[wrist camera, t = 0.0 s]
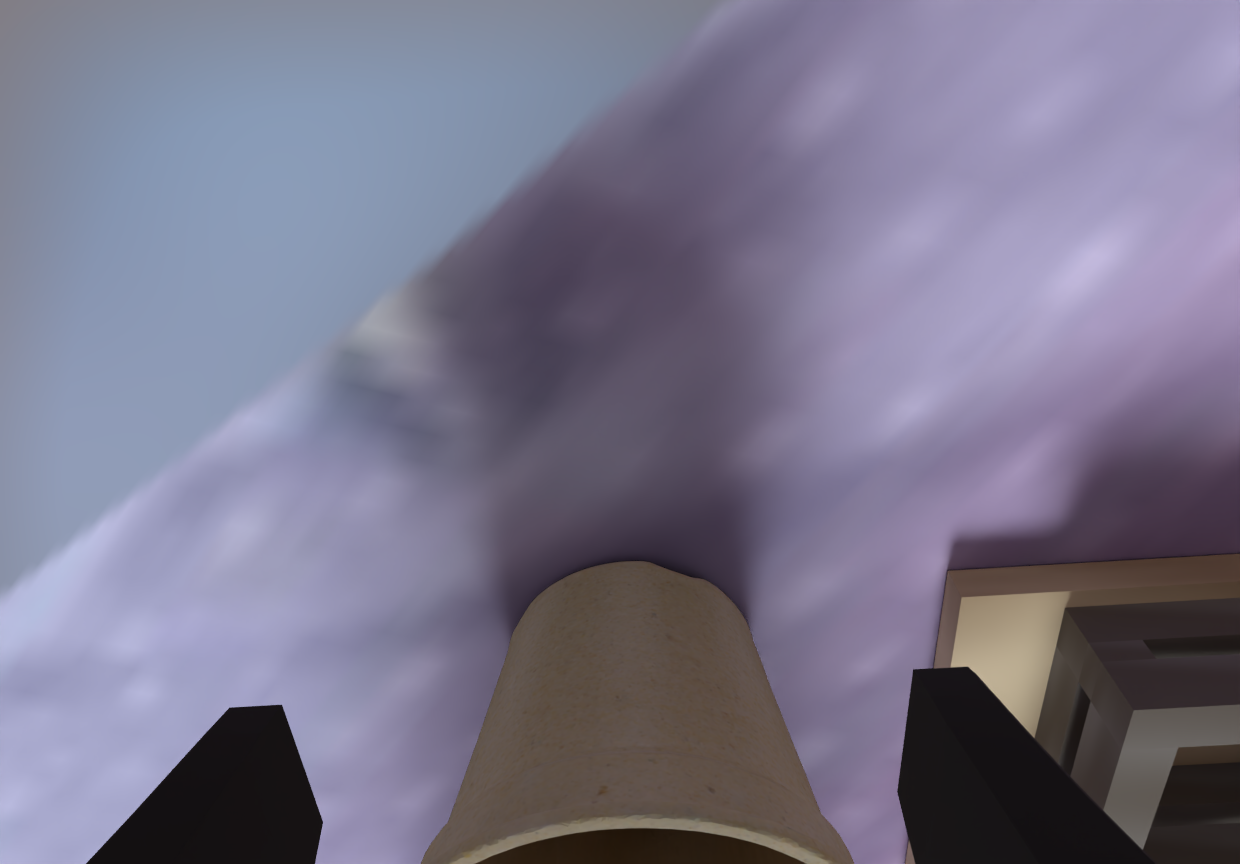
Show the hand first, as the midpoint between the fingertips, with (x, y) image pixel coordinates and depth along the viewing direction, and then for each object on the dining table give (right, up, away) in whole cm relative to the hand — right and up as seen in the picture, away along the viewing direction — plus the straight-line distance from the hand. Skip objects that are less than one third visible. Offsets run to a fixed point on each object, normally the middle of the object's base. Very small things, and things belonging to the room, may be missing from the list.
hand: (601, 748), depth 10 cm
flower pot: (0, -2, +13) cm, 13 cm away
